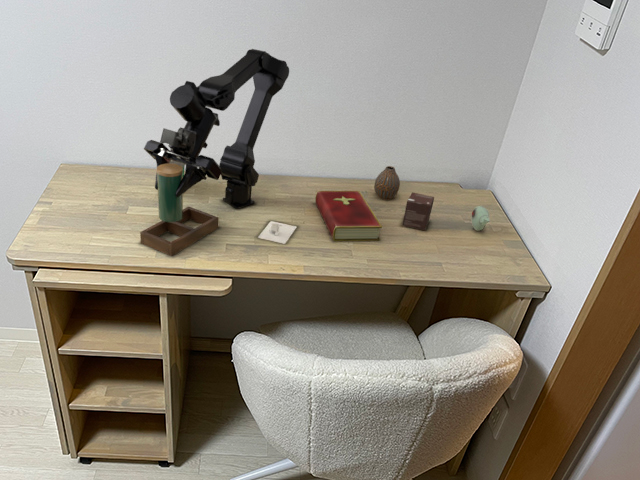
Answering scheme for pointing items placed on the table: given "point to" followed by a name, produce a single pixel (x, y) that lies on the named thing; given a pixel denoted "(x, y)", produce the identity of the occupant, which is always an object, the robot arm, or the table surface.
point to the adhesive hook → (277, 232)
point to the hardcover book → (348, 216)
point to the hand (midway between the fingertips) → (166, 192)
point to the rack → (179, 231)
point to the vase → (387, 183)
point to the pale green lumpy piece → (480, 217)
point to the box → (418, 211)
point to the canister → (169, 192)
